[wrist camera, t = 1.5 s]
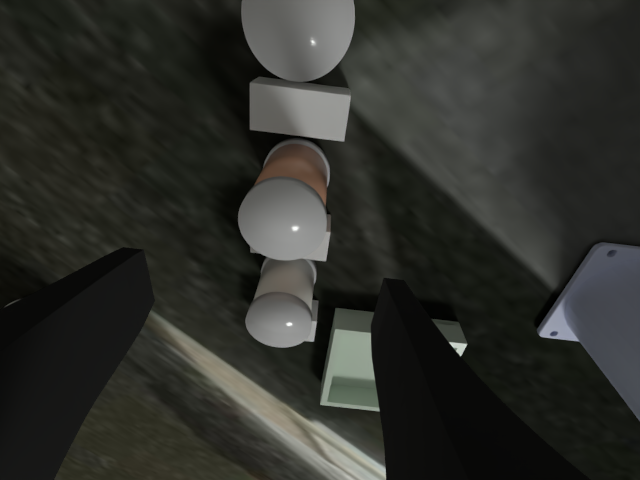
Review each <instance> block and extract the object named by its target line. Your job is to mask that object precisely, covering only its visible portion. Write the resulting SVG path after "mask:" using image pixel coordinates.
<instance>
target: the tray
mask: <svg viewBox="0 0 640 480" xmlns="http://www.w3.org/2000/svg"><path fill="white" fill-rule="evenodd" d="M373 315H374V312H368V311H359V310H351V309H342V308H335V313H334V318H333V324H332V329H331V334H330V340H329V345H328V350H327V355H326V361H325V366H324V371H323V377H322V382H321V400H320V405H327V406H336V407H345V408H354V409H364V410H373V411H380V410H379V403H378V397H377V390H376V384H375V377H374V370H373V363H372V354H371V322H372V319H373ZM432 321H433V322H434V323H435V325H436V326H437V327H438V329H439V330H440V331H441V333H442V334H443V335H444V337H445V338H446V339H447V341H448V342H449V343H450V344H451V346H452V347H453V348H454V349H455V350H456V352H457V353H458V354H459V355H460V356H461V355H462V353H463V351H464V349H465V348H466V346H467V342H466V339H465V337H464V334H463V332H462V329H461V327H460V324H459V322H455V321H446V320H437V319H432Z"/></svg>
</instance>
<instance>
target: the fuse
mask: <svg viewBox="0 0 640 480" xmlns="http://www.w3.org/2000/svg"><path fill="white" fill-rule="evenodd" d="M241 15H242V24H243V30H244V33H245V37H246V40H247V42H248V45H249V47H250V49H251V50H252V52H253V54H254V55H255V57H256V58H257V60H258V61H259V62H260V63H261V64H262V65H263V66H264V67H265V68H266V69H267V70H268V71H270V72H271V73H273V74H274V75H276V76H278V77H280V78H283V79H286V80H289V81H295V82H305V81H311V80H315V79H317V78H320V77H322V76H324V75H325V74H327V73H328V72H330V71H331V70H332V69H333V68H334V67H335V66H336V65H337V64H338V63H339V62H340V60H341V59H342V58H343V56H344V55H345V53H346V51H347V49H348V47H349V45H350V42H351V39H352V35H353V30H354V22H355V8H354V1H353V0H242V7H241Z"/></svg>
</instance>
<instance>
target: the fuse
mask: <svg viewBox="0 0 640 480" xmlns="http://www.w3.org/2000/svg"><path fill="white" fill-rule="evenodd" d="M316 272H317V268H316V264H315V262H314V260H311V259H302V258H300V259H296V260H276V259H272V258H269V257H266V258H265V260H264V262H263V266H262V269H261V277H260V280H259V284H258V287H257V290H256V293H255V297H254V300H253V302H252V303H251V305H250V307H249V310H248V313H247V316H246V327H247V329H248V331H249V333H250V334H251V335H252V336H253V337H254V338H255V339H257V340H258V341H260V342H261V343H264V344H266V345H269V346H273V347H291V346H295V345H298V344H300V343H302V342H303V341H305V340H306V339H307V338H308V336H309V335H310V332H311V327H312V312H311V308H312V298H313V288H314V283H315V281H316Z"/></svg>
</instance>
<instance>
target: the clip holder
mask: <svg viewBox="0 0 640 480" xmlns="http://www.w3.org/2000/svg"><path fill="white" fill-rule="evenodd" d="M350 99H351V93H350V88H343V87H336V86H328V85H320V84H313V83H305V82H295V81H289V80H282V79H274V78H266V77H258V78H256V79H255V80H253V81H252V82H250V130H256V131H264V132H272V133H280V134H288V135H296V136H304V137H312V138H320V139H328V140H336V141H344V138H345V132H346V125H347V119H348V112H349V105H350ZM330 227H331V215H330V214H327V227H326V234H325V237H324V239H323V241H322V243H321V244H320V246H319V247H318V248H317V249H316V250H315V251H314V252H312V253H311V254H309V255H307V256H305V257H303V258H302V259H311V260H319V261H326V257H327V251H328V244H329V238H330ZM250 252H251V253H259V252H257V251H256V250H254V249H253V248H252V247H251V246H250ZM311 312H312V327H311V332H310V335H309V336H308V338H307V339H306V340H305V341H311V342H314V337H315V330H316V323H317V312H318V301H317V300H312V308H311ZM250 335H251V334H250Z"/></svg>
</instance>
